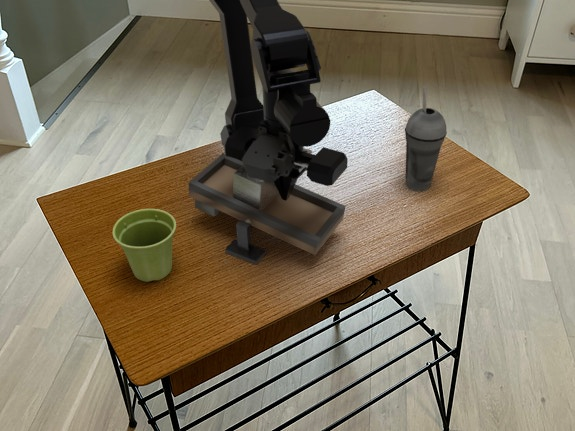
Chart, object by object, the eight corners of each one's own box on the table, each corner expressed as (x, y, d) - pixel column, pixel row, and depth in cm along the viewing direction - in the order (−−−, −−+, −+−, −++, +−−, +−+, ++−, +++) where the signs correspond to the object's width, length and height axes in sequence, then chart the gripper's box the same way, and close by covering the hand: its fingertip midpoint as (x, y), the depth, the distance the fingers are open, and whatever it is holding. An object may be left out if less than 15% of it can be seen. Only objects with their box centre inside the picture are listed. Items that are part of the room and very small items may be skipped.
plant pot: (149, 242, 102) (141, 201, 96) (194, 261, 98) (188, 219, 93) (110, 276, 96) (99, 234, 90) (156, 298, 92) (147, 255, 86)
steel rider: (232, 202, 99) (233, 173, 95) (253, 181, 103) (255, 153, 99) (258, 214, 97) (261, 185, 93) (279, 192, 102) (282, 164, 98)
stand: (225, 252, 99) (222, 223, 96) (276, 199, 111) (275, 171, 107) (256, 264, 97) (254, 235, 93) (305, 208, 108) (305, 180, 104)
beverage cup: (437, 197, 110) (454, 98, 98) (396, 193, 112) (409, 95, 99) (437, 175, 116) (454, 78, 104) (399, 171, 117) (411, 75, 105)
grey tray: (186, 212, 103) (185, 184, 99) (224, 177, 111) (225, 150, 107) (310, 271, 95) (315, 244, 91) (342, 230, 103) (347, 203, 99)
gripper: (197, 122, 86) (208, 209, 96) (315, 154, 79) (314, 245, 88) (240, 90, 93) (246, 174, 103) (351, 117, 86) (346, 205, 96)
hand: (285, 198), depth 97 cm, fingers closed
